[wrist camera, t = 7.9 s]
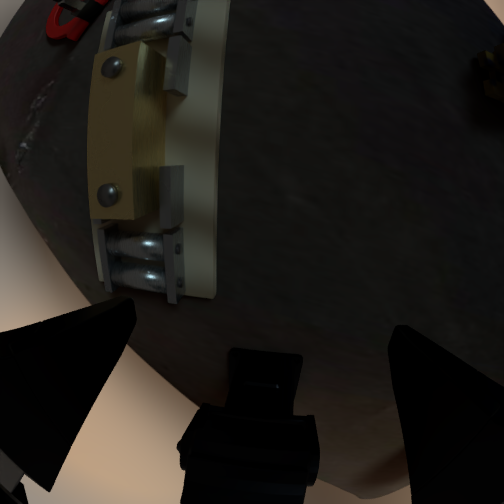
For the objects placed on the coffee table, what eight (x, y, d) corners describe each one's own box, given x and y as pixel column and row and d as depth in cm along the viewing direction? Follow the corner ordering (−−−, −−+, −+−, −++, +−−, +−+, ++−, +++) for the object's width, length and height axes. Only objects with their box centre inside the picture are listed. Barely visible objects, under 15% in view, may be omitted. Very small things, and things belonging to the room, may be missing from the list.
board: (216, 292, 22) (213, 298, 21) (105, 276, 23) (99, 280, 22) (231, -9, 14) (228, -15, 13) (113, 15, 15) (107, 12, 14)
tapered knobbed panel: (165, 205, 19) (130, 221, 15) (126, 205, 20) (86, 220, 15) (170, 60, 16) (137, 38, 11) (129, 68, 16) (91, 53, 11)
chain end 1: (126, 7, 14) (112, -2, 12) (201, -10, 13) (192, -24, 11) (109, 106, 17) (92, 103, 15) (188, 95, 16) (176, 88, 14)
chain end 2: (187, 292, 21) (177, 306, 19) (116, 281, 22) (102, 292, 20) (185, 164, 18) (172, 166, 16) (107, 167, 19) (89, 170, 17)
